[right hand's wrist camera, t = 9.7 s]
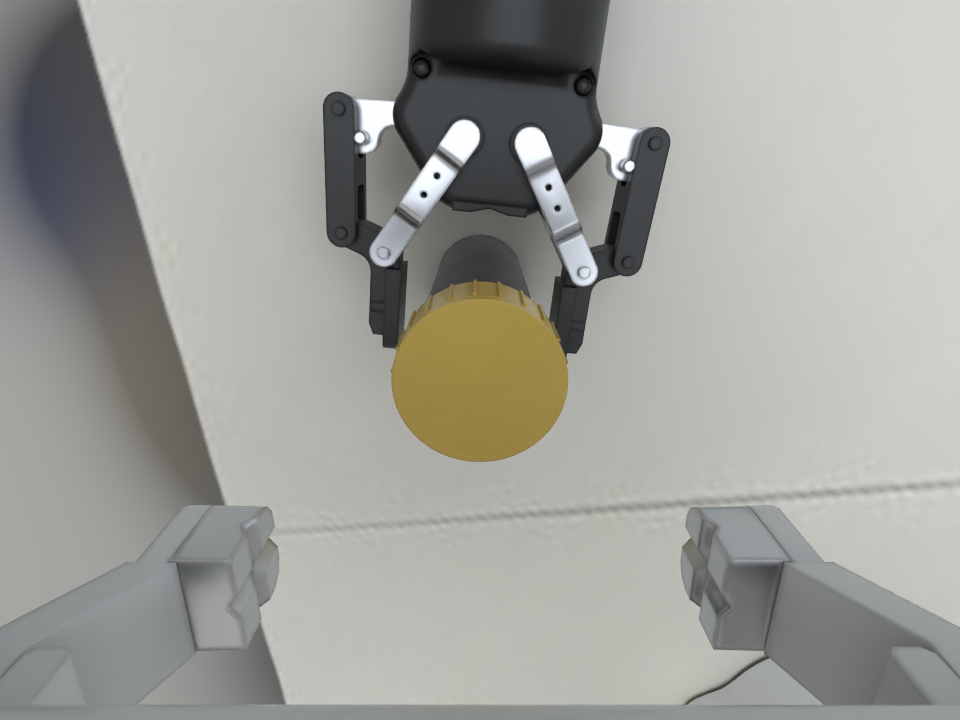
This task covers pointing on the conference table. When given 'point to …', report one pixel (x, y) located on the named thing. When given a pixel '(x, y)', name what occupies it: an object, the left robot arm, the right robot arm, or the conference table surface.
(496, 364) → the lid
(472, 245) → the jar
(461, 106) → the left robot arm
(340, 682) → the conference table surface
